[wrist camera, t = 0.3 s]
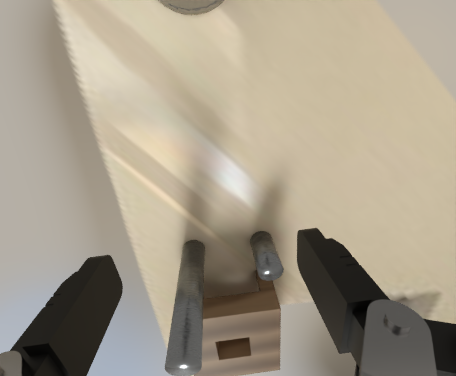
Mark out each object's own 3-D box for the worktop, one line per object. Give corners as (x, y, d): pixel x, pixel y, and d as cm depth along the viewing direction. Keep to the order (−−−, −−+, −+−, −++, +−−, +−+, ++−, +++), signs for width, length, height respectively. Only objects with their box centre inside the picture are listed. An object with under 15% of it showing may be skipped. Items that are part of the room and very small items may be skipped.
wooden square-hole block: (181, 279, 36) (175, 322, 29) (268, 268, 36) (280, 308, 30) (198, 337, 43) (196, 381, 37) (269, 327, 43) (279, 369, 37)
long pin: (181, 241, 32) (160, 360, 19) (203, 238, 32) (198, 354, 19) (185, 257, 34) (169, 378, 20) (206, 255, 34) (204, 373, 20)
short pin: (249, 232, 32) (257, 264, 27) (271, 229, 32) (283, 260, 27) (250, 249, 34) (258, 282, 29) (271, 246, 34) (283, 278, 29)
